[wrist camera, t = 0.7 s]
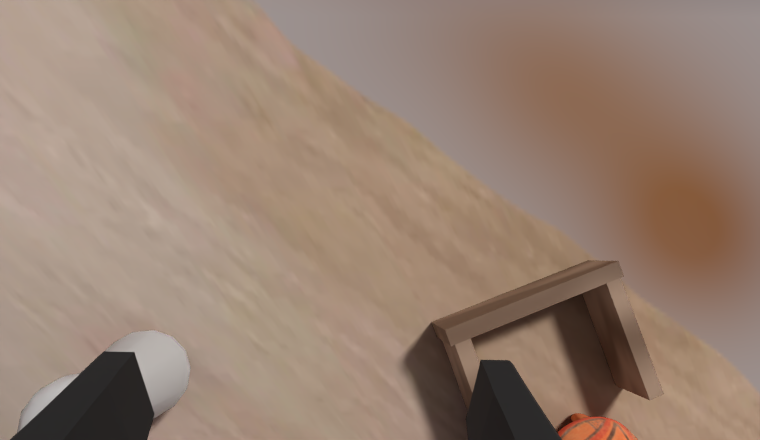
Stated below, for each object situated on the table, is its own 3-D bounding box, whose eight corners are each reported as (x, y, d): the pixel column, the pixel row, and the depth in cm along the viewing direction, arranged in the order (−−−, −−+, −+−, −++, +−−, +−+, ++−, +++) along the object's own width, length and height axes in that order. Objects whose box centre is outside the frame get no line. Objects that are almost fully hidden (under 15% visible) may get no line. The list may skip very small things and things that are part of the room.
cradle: (631, 378, 39) (667, 392, 35) (476, 447, 37) (495, 470, 33) (587, 260, 39) (618, 260, 35) (431, 322, 37) (445, 330, 33)
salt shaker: (190, 411, 34) (112, 504, 21) (107, 402, 34) (-25, 494, 21) (204, 330, 35) (137, 373, 22) (122, 319, 34) (4, 358, 21)
